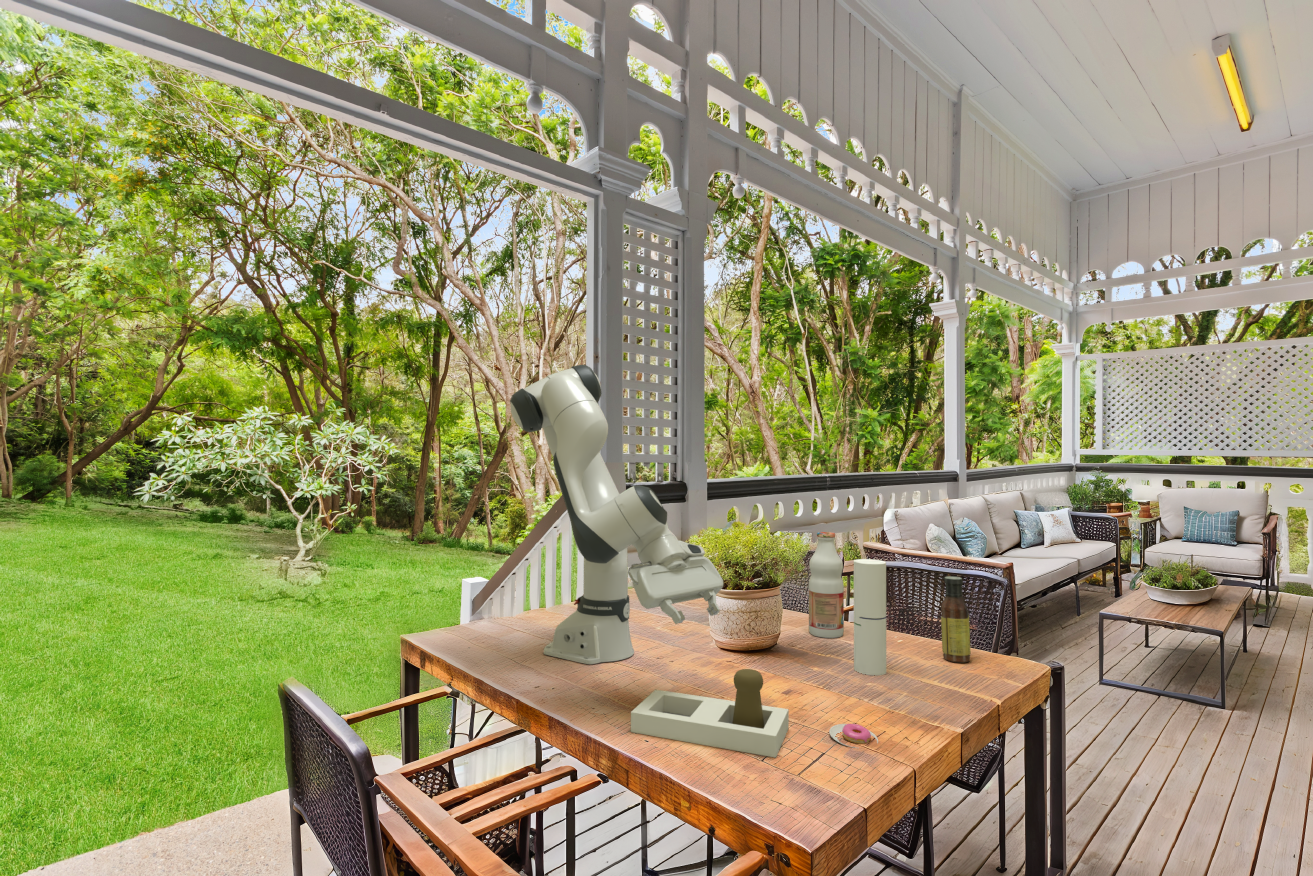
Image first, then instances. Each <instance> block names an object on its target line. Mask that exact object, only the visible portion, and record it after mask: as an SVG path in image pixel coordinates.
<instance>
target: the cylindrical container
mask: <svg viewBox="0 0 1313 876" xmlns="http://www.w3.org/2000/svg"><path fill="white" fill-rule="evenodd" d="M853 670H854V671H855V672H856V671H857V672H856V673H858V672H859V674H861V673H862V675H865V674H866V676H874V675H875V676H883V675H885V674H886V675H887V562H886V561H884V560H880V559H869V558H860V559H859V558H858V559H853ZM875 676H874V677H875Z"/></svg>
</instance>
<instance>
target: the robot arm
mask: <svg viewBox="0 0 1313 876" xmlns="http://www.w3.org/2000/svg"><path fill="white" fill-rule="evenodd" d="M601 397H602V387H601V382H600V379H599V377H598V375H597V374H596V373H595V372H594V370H593V368H591V367H590V366H588V365H586V364H578V365H572V366H571V367H570V368H568V369H563V370H561V371H557V372H555V373H554V372H553V373H551V374H548V375H546V377H544V378H542V379H539V380H538V381H535V382H534V383H531V384H530V385H528V386H527V387H525V388H520V389H519V390H517V391H516V392H514V393H513V394H512V395H511V398H510V400H509V403H510V413H511V417H512V419H513V420H514V422H515V423H516V424H517V425H518V426H519V427H520V428H521V429H522V430H523V431H525V432H526V433H527V432H528V433H533V432H539V431H541V430H542V429H543V434H544V437H545V440H546V442H547V447H548V449H549V451H550V454H551V455H552V459H553V461H552V462H553V467H554V471H555V475H556V478H557V479H556V480H557V483H558V485H559V489H560V492H561V495H562V497H563V501H564V504H565V508H566V511H567V513H568V517H569V520H570V526H571V531H572V534H573V538H574V543H575V546H576V548H577V550H578V552H579V554H581V556H583V591H582V592H583V593H582V595H581V596H579V597H577V599H574V600H573V602H574V603H573V605H574V606H576V605H577V606H576V607H577V608H576V610H575V611H574V612H572V613H571V614H570V615H569V616H567V618H565V619H564V620H562V621H561V622H560V623H559V624H557V626H556V627H555V630H554V632H553V639H552V641H551V642H550V643H548V644H547V645H546V646H545V647H544V649H543V654H544V655H546V656H550V657H554V658H559V659H563V660H568V661H573V662H576V663H581V664H584V665H594V664H599V663H607V662H608V663H609V662H617V661H621V660H625V659H628V658H630V657H632V656H633V655H634V653H635V651H634V647H633V643H632V637H631V632H630V623H629V619H630V611H631V608H630V607H631V605H630V595H629V594H628V592H629V591H628V590H629V589H628V588H629V585H628V584H629V581H628V580H629V579H628V578H630V580H631V582H632V586H633V589H634V591H635V595H636V597H637V598H638V602H639V604H640V605H641V606H642V607H644V609H646V610H650V609H654V608H660V610H661V611H662V612H663V613H664V614H666V615H667V616H669V617H670V618H671V619H672V621H673V623H674V624H675V625H679V624H682V623H683V622H684V621H685V620H686V616H685V614H684V613H683V611H682V610H678V609H676V607H675V606H673V605H674V604H679V603H683V602H688V601H689V602H690V601H693V600H694V601H695V600H699V599H704V602H707V603H708V604H707V605H708V607H707V608H706V611H707V613H708V615H709V616H716V615H718V614H719V613H720V611H721V610H720V606H719V605H718V604H717V595H718V593H719V592H720V591H721V590H722V589H723V588H724V580H723V577H722V576H721V574H720V572H719V571H718V569H717V568H716V566H715V565H714V564H713V562H712V561H711V560H710V559H709V558H708V557H706V556H704V555H705V553H706V552H705V549H704V548H703V547H702V546H701V545H699V544H693V543H689V542H685V541H683V540H679V539H678V538H677V536H676V535H675V534H674V533H673V532H672V530H670V528H669V525H668V522H667V521H668V512H667V510H666V509H665V508H664V506H663V505H662V503H661V502H660V501H661V500H660V499H659V497H658V496H657V494H656V492H655V491H654V490H653V489H652V488H651V487H648V486H643V485H637V484H636V485H633V486H631V487H629V488H627V489H626V490H624V491H622V492H621V493H620V492H619V490H618V489H617V488H618V487H617V486H616V483H615V481H614V480H613V477H612V476H611V473H610V471H609V469H608V467H607V464H606V463H605V461H604V459H603V456H602V454H601V450H602V449H603V447H604V445H605V443H606V441H607V438H608V436H609V435H608V434H609V424H608V421H607V419H606V416H605V414H604V412H603V410H602V408H601V406H600V404H599V401H600V399H601ZM631 546H633V548H635V550H636V552H637V557H638V558H639V559H638V560H639V561H640V562H641V563H633V564H631V566H630V567H629V562H628V556H629V555H628V547H631Z"/></svg>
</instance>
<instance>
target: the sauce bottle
mask: <svg viewBox="0 0 1313 876" xmlns="http://www.w3.org/2000/svg"><path fill="white" fill-rule="evenodd" d="M943 579H944V581H943V582H944V584H945V586H944V587H945V593H944V594H945V595H944V599H943V600H942V602H941V605H940V607H941V609H940V610H941V614H940V619H941V621H940V622H941V623H940V625H941V626H940V627H941V645H942V647H941V648H942V651H941V652H942V657H943V659H945V660H946V661H947V662H952V663H958V664H963V663H964V664H965V663H968V662H970V661H971V635H970V634H971V630H970V613H969V610H968V607H967V604H966V601H965V598H964V595H963V583H964V581H963V578H962V577H959V576H949V575H948V576H945V577H944V578H943Z"/></svg>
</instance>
